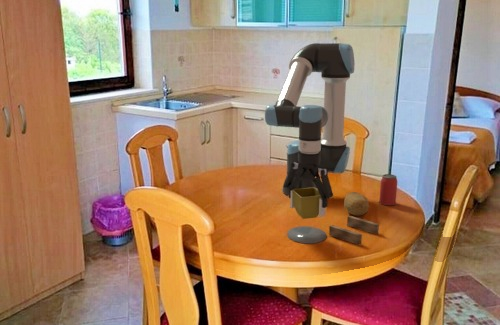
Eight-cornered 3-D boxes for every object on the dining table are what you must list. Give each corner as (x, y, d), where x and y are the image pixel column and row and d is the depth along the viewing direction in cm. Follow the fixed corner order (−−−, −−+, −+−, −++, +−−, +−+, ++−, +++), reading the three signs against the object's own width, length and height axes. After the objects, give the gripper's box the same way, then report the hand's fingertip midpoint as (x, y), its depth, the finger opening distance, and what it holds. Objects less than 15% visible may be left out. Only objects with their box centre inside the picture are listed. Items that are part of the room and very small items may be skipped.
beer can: (396, 206, 203) (398, 178, 200) (379, 205, 204) (381, 177, 201) (394, 201, 209) (397, 174, 206) (378, 200, 211) (380, 173, 207)
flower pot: (323, 219, 171) (324, 194, 169) (300, 222, 169) (301, 197, 166) (313, 210, 179) (314, 187, 177) (291, 213, 177) (291, 189, 174)
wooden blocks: (329, 235, 176) (329, 226, 175) (349, 224, 185) (349, 215, 184) (358, 245, 168) (359, 235, 167) (378, 233, 178) (378, 224, 177)
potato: (362, 206, 203) (363, 188, 201) (373, 219, 190) (374, 200, 187) (338, 207, 202) (339, 189, 200) (348, 220, 189) (349, 201, 187)
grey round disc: (278, 235, 175) (278, 234, 175) (302, 224, 185) (302, 223, 185) (311, 247, 166) (311, 246, 166) (334, 234, 176) (334, 233, 176)
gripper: (275, 147, 173) (274, 206, 178) (333, 159, 157) (330, 223, 163) (288, 144, 178) (287, 201, 184) (345, 155, 163) (342, 217, 168)
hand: (307, 211), depth 173 cm, fingers closed on flower pot, 12 cm apart
